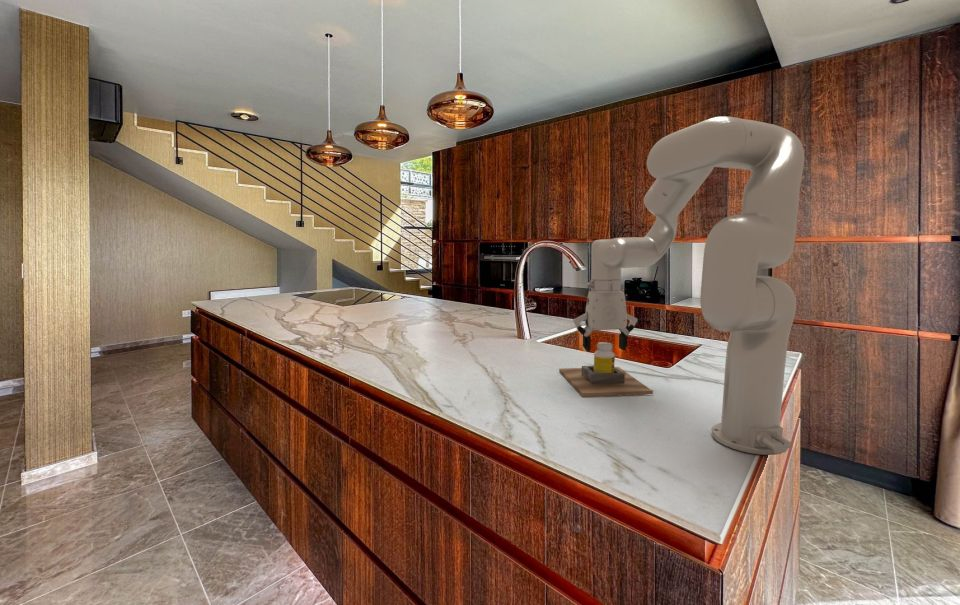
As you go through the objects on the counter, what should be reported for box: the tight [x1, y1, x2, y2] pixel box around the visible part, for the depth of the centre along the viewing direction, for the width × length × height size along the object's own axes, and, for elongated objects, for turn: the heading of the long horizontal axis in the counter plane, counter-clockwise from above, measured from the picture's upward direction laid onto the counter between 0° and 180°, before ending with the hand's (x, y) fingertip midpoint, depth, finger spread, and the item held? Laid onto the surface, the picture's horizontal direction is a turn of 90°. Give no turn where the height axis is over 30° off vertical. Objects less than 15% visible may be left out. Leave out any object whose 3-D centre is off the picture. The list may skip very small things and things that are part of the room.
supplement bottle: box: [593, 341, 616, 374], centre depth 122 cm, size 5×5×10 cm
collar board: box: [558, 365, 654, 398], centre depth 122 cm, size 22×18×4 cm
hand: (604, 349), depth 121 cm, fingers open, 9 cm apart
